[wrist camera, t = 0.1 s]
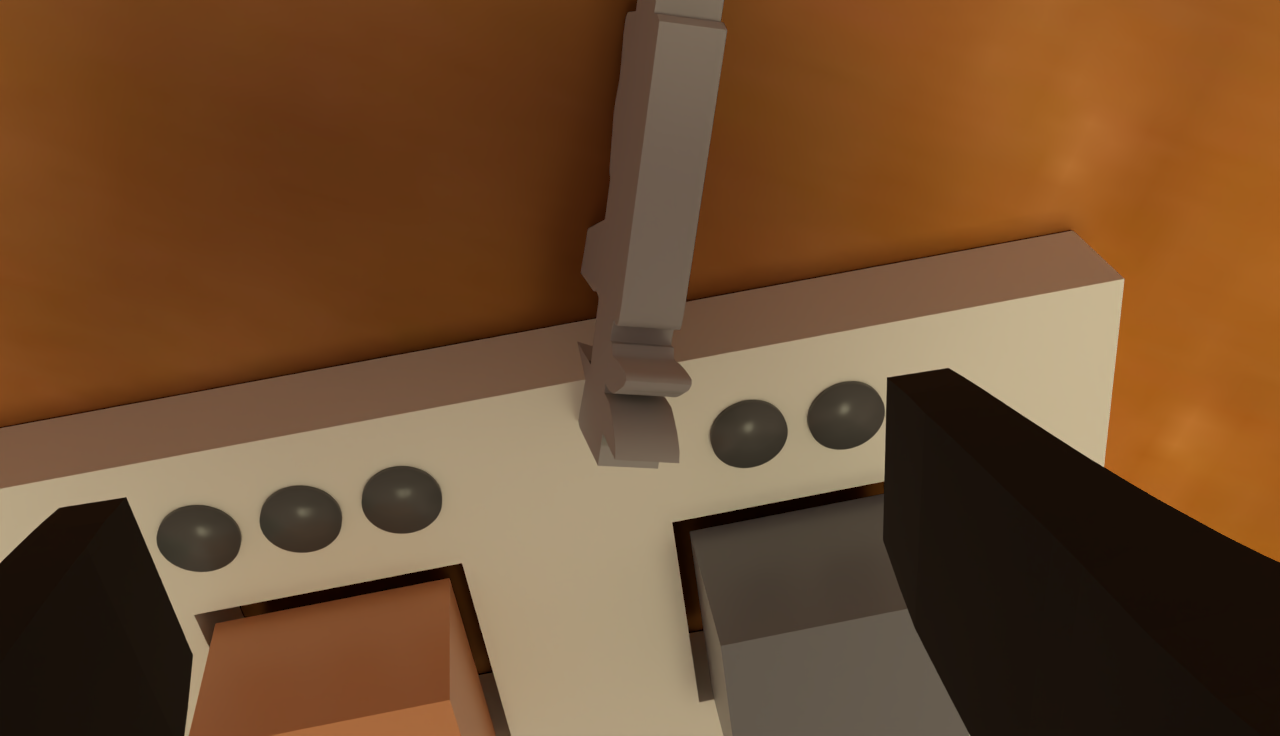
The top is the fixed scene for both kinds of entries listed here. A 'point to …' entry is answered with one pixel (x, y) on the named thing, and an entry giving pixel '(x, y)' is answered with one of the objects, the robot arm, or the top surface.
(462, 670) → the button three
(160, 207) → the top surface
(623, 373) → the caliper
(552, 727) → the button panel
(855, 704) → the button two
